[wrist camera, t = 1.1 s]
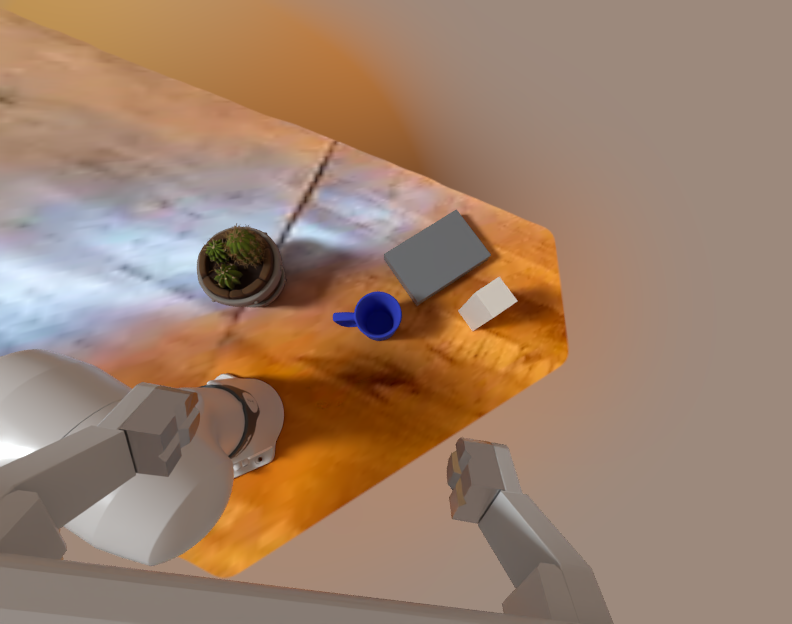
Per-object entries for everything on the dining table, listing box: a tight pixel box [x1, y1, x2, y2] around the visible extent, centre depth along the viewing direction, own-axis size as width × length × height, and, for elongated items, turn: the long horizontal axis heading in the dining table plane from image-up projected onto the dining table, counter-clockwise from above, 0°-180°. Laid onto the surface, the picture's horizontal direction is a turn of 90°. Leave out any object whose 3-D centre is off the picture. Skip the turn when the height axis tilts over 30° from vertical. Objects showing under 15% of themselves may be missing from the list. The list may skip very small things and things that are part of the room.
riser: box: [384, 210, 491, 306], centre depth 71 cm, size 18×12×3 cm, turn 124°
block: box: [459, 277, 517, 331], centre depth 63 cm, size 5×5×14 cm
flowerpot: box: [197, 223, 287, 307], centre depth 61 cm, size 14×15×20 cm
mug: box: [333, 292, 402, 341], centre depth 64 cm, size 8×12×10 cm
